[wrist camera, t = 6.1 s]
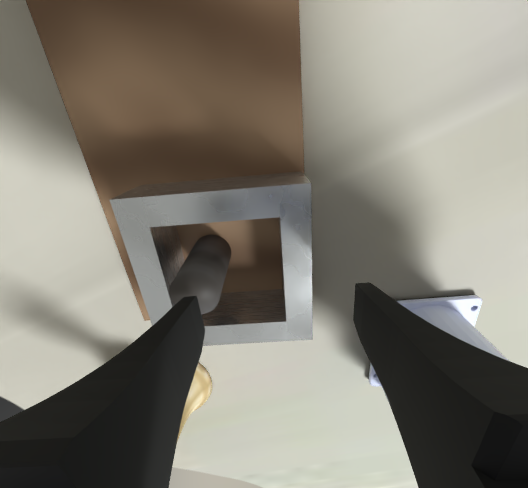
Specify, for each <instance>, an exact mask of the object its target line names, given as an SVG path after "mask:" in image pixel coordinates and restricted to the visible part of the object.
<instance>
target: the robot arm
mask: <svg viewBox="0 0 528 488" xmlns="http://www.w3.org/2000/svg"><path fill="white" fill-rule="evenodd" d="M481 304H482V299H481V298H480V297H479V296H477V295H469V296H455V297H442V298H428V299H415V300H401V301H395V300H394V299H392V298H391V297H389V296H388V295H387V294H385V293H384V292H382V291H381V290H380V289H378V288H377V287H375V286H374V285H372V284H371V283H358V284H356V285H355V302H354V319H353V320H354V323H355V326H356V329H357V332H358V335H359V338H360V341H361V343H362V345H363V347H364V350H365V352H366V354H367V356H368V358H369V360H370V372H369V383H370V385H372V386H382V388H383V390H384V393H385V395H386V397H387V399H388V402H389V404H390V406H391V409H392V412H393V414H394V417H395V420H396V422H397V425H398V428H399V431H400V434H401V436H402V439H403V442H404V445H405V448H406V451H407V454H408V456H409V460H410V463H411V466H412V469H413V472H414V475H415V478H416V481H417V484H418V487H419V488H528V368H526V367H523V366H520V365H518V364H515V363H512V362H510V361H509V360H508V359H507V358H506V357H505V356H504V355H503V354H502V353H501V352H500V351H499V350H498V349H497V348H496V347H495V346H493V345H492V344H491V343H490V342H489V341H488V340H487V339H486V338H485V337H484V336H483V335H482V334H481V333H480V332H479V331H478V330H477V329H476V328H475V327H474V326H475V323H476V320H477V317H478V313H479V310H480V307H481ZM472 306H473V307H472ZM204 335H205V327H204V323H203V319H202V315H201V311H200V307H199V303H198V299H197V296H189V297H183V298H182V299H181V300H180V301H179V302H177V303H176V304H175V305H174V306H173V307H172V308H171V309H170V310H169V311H168V312H167V313H166V314H165V315H164V316H163V317H162V318H161V319H159V320H158V321H157V322H156V323H155V324H154V325H153V326H152V327H151V328H150V329H148V330H147V331H146V332H145V333H144V334H143V335H141V336H140V337H139V338H138V339H137V340H136V341H134V342H133V343H132V344H131V345H129V346H128V347H127V348H126V349H124V350H123V351H122V352H120V353H119V354H118V355H116V356H115V357H113V358H112V359H111V360H109V361H108V362H106V363H105V364H104V365H102V366H100V367H99V368H97V369H96V370H94V371H93V372H91V373H90V374H88V375H87V376H85V377H83V378H82V379H80V380H79V381H77V382H75V383H74V384H72V385H70V386H69V387H67V388H65V389H64V390H62V391H60V392H58V393H56V394H55V395H53V396H51V397H49V398H47V399H45V400H44V401H42V402H40V403H38V404H36V405H34V406H32V407H30V408H28V409H26V410H24V411H22V412H20V413H18V414H16V415H14V416H12V417H10V418H8V419H6V420H4V421H2V422H0V488H168V487H169V481H170V476H171V470H172V464H173V459H174V454H175V449H176V444H177V439H178V434H179V429H180V424H181V420H182V415H183V411H184V407H185V403H186V400H187V397H188V393H189V390H190V387H191V384H192V381H193V378H194V374H195V371H196V368H197V365H198V362H199V358H200V355H201V352H202V347H203V342H204Z"/></svg>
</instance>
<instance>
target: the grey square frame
mask: <svg viewBox="0 0 528 488" xmlns="http://www.w3.org/2000/svg"><path fill="white" fill-rule="evenodd" d="M110 203H111V206H112V209H113V212H114V215H115V218H116V221H117V224H118V227H119V229H120V232H121V235H122V238H123V241H124V244H125V247H126V250H127V253H128V256H129V259H130V262H131V265H132V268H133V271H134V273H135V276H136V279H137V282H138V285H139V288H140V291H141V294H142V297H143V300H144V303H145V306H146V309H147V312H148V315H149V317H150V320H151V323H152V326H153V325H154V324H155V323H156V322H157V321H158V320H159V319H161V318H162V317H163V316H164V315H165V314H166V313H167V312H168V311H169V310H170V309H171V308H172V307H173V306H174V304H173V302H172V300H171V298H170V295H169V288H170V285H171V283H172V281H173V280H174V278H175V276H176V275H177V273H178V271H179V270H180V268H181V266H182V265H183V263H184V261H185V260H184V256H183V252H182V248H181V244H180V240H179V235H178V231H177V227H176V225H186V224H199V223H212V222H225V221H238V220H250V219H263V218H276V217H278V218H279V234H280V249H281V265H282V281H283V289H275V290H260V291H245V292H230V293H221V295H220V299H219V302H218V304H217V306H216V307H215V308H214V309H213V310H212V311H210V312H208V313H206V314H201V315H202V319H203V323H204V327H205V335H204V342H203V346H208V345H225V344H242V343H260V342H277V341H294V340H311V339H313V334H312V203H311V182H310V181H309V179H308V178H307V177H306V176H305V174H304V173H303V172H302V171H301V172H289V173H278V174H266V175H254V176H242V177H230V178H219V179H207V180H195V181H183V182H172V183H160V184H148V185H140V186H138V187H136V188H133V189H131V190H129V191H127V192H125V193H123V194H121V195H118V196H116V197H114V198H112V199H110Z"/></svg>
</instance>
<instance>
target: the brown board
mask: <svg viewBox="0 0 528 488" xmlns="http://www.w3.org/2000/svg"><path fill="white" fill-rule="evenodd" d="M26 2H27V5H28V8H29V10H30V13H31V16H32V18H33V21H34V24H35V26H36V29H37V32H38V34H39V37H40V40H41V43H42V45H43V48H44V51H45V53H46V56H47V59H48V61H49V64H50V67H51V70H52V72H53V75H54V78H55V80H56V83H57V86H58V88H59V91H60V94H61V97H62V99H63V102H64V105H65V107H66V110H67V113H68V115H69V118H70V121H71V124H72V126H73V129H74V132H75V134H76V137H77V140H78V142H79V145H80V148H81V150H82V153H83V156H84V159H85V161H86V164H87V167H88V169H89V172H90V175H91V177H92V180H93V183H94V186H95V188H96V191H97V194H98V196H99V199H100V202H101V204H102V207H103V210H104V213H105V215H106V218H107V221H108V223H109V226H110V229H111V231H112V234H113V237H114V240H115V242H116V245H117V248H118V250H119V253H120V256H121V258H122V261H123V264H124V266H125V269H126V272H127V275H128V277H129V280H130V283H131V285H132V288H133V291H134V293H135V296H136V299H137V302H138V304H139V307H140V310H141V312H142V315H143V318H144V320H150V317H149V315H148V312H147V309H146V306H145V303H144V300H143V297H142V294H141V291H140V288H139V285H138V282H137V279H136V276H135V273H134V271H133V268H132V265H131V262H130V259H129V256H128V253H127V250H126V247H125V244H124V241H123V238H122V235H121V232H120V229H119V227H118V224H117V221H116V218H115V215H114V212H113V209H112V206H111V203H110V199H112V198H114V197H116V196H118V195H121V194H123V193H125V192H127V191H129V190H131V189H133V188H136V187H138V186H140V185H148V184H160V183H172V182H183V181H195V180H207V179H219V178H230V177H242V176H254V175H266V174H278V173H289V172H301V171H302V172H303V173H304V150H303V119H302V88H301V57H300V26H299V0H26ZM176 227H177V231H178V235H179V240H180V244H181V248H182V252H183V256H184V260H185V261H184V263H183V265H182V266H181V268H180V270H179V271H178V273H177V275H176V276H175V278H174V280H173V281H172V283H171V285H170V288H169V295H170V298H171V300H172V302H173V304H174V305H175V304H176V303H177V302H179V301H180V300H181V299H182V298H183V297H189V296H197V299H198V303H199V307H200V311H201V314H206V313H208V312H210V311H212V310H213V309H214V308H215V307H216V306H217V304H218V302H219V299H220V295H221V293H230V292H245V291H260V290H275V289H283V281H282V265H281V249H280V234H279V218H278V217H276V218H263V219H250V220H238V221H225V222H212V223H199V224H186V225H176Z"/></svg>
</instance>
